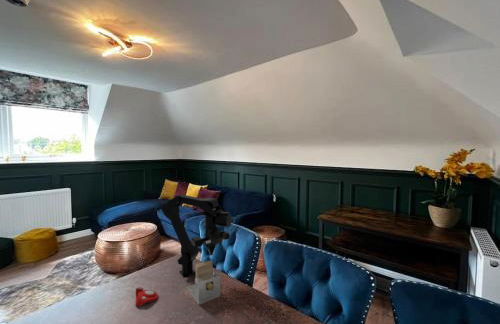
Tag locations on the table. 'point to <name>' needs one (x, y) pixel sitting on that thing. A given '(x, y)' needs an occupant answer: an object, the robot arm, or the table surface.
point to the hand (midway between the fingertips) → (211, 255)
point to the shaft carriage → (205, 272)
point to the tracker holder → (144, 296)
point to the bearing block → (205, 288)
